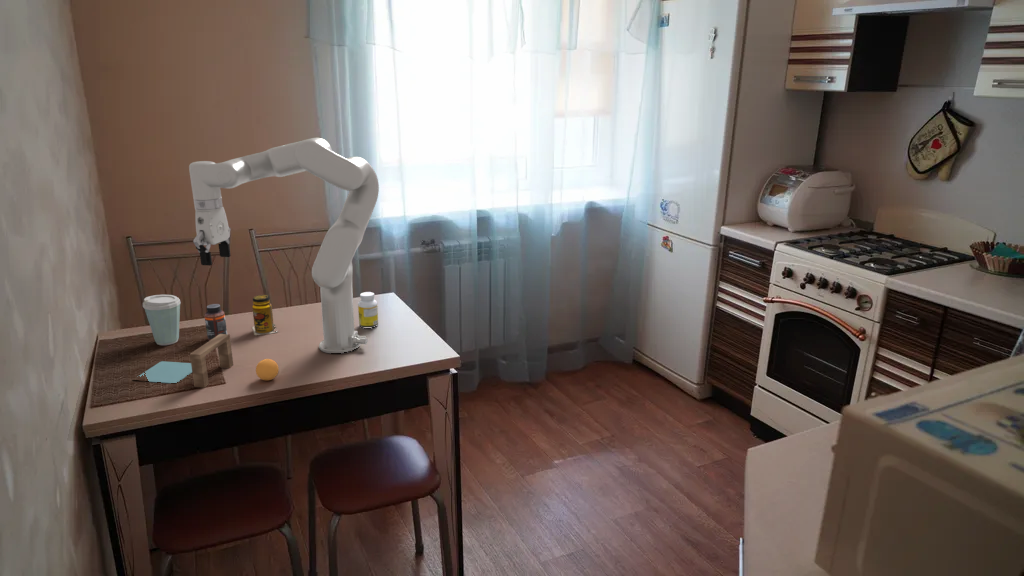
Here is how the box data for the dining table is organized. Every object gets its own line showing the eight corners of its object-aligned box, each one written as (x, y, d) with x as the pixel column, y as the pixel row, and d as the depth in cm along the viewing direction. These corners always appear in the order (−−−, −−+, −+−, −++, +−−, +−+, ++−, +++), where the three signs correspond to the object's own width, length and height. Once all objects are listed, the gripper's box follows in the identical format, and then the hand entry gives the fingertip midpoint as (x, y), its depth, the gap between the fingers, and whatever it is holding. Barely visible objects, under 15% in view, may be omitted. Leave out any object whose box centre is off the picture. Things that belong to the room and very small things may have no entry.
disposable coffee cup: (176, 333, 218) (170, 289, 213) (192, 341, 211) (186, 296, 206) (143, 342, 210) (135, 297, 205) (158, 351, 203) (150, 305, 199)
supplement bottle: (231, 336, 216) (227, 303, 213) (221, 342, 210) (217, 309, 207) (213, 335, 217) (209, 302, 213) (204, 341, 211) (199, 308, 208)
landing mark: (202, 364, 194) (202, 364, 194) (176, 383, 182) (175, 383, 182) (161, 361, 196) (161, 361, 196) (132, 380, 183) (132, 380, 183)
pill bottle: (363, 322, 230) (361, 290, 227) (381, 323, 229) (379, 291, 226) (356, 328, 224) (354, 296, 221) (374, 330, 223) (373, 297, 220)
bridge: (233, 365, 194) (229, 334, 191) (204, 387, 180) (200, 354, 177) (223, 364, 195) (219, 333, 192) (194, 386, 180) (189, 354, 177)
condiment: (254, 335, 217) (250, 301, 213) (252, 327, 224) (248, 293, 220) (277, 332, 220) (274, 298, 216) (274, 324, 227) (271, 291, 223)
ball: (283, 375, 188) (281, 356, 186) (273, 384, 182) (271, 364, 181) (263, 374, 189) (261, 354, 187) (252, 383, 183) (250, 363, 181)
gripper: (202, 210, 185) (211, 269, 190) (236, 199, 201) (243, 254, 206) (178, 209, 186) (187, 268, 191) (213, 199, 202) (220, 253, 207)
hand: (216, 260), depth 199 cm, fingers open, 9 cm apart
